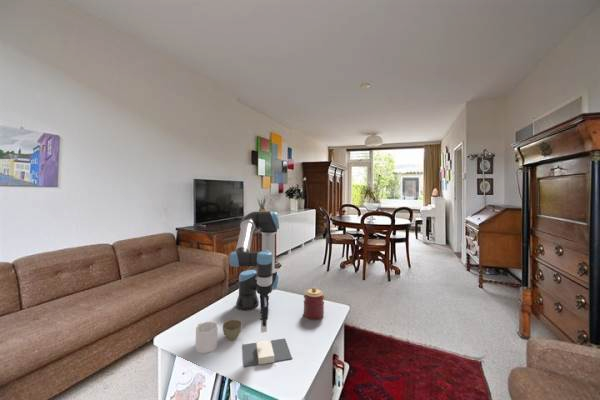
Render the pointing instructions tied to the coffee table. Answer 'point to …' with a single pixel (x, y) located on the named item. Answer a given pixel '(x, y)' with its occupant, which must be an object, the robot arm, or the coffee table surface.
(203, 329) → the mug
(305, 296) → the canister
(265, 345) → the slab
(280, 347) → the mat
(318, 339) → the coffee table surface
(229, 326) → the flower pot
